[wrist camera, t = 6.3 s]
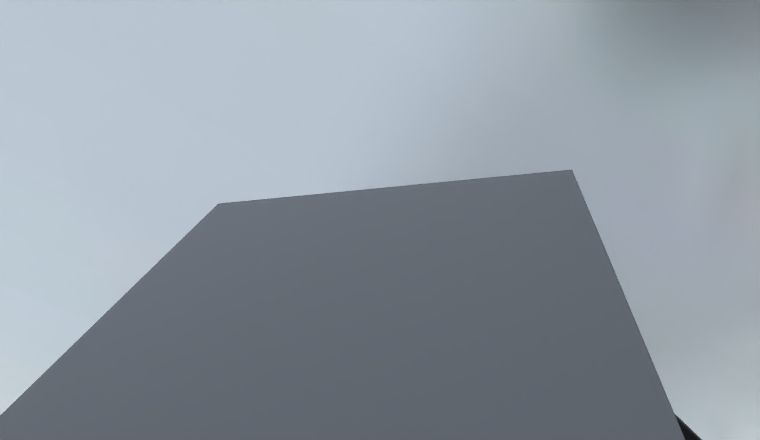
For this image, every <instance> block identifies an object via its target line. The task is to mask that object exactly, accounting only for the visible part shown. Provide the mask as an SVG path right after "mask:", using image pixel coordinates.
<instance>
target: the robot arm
mask: <svg viewBox="0 0 760 440" xmlns="http://www.w3.org/2000/svg"><path fill="white" fill-rule="evenodd" d="M675 417H676V419H677V422H678V424H679V426H680V429H681V431H682V433H683V436H684V438H685V440H702V439H701V438H700V437H698V436H697V435H696V434H695V433H694V432H693V431H692V430H691V429H690V428H689V427H688V426H687V425H686V424H685V423H684V422H683V421H682V420H681V419H680V418H679V417H678V416H676V415H675Z"/></svg>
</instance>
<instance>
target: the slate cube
mask: <svg viewBox="0 0 760 440" xmlns="http://www.w3.org/2000/svg"><path fill="white" fill-rule="evenodd" d="M0 440H685V438H684V436H683V433H682V431H681V429H680V426H679V424H678V422H677V419H676V417H675V414H674V412H673V410H672V407H671V405H670V402H669V400H668V398H667V395H666V393H665V391H664V388H663V386H662V383H661V381H660V379H659V376H658V374H657V371H656V369H655V367H654V364H653V362H652V360H651V357H650V355H649V352H648V350H647V348H646V345H645V343H644V340H643V338H642V336H641V333H640V331H639V329H638V326H637V324H636V321H635V319H634V317H633V314H632V312H631V310H630V307H629V305H628V302H627V300H626V298H625V295H624V293H623V290H622V288H621V286H620V283H619V281H618V279H617V276H616V274H615V271H614V269H613V267H612V264H611V262H610V259H609V257H608V255H607V252H606V250H605V248H604V245H603V243H602V240H601V238H600V236H599V233H598V231H597V228H596V226H595V224H594V221H593V219H592V217H591V214H590V212H589V209H588V207H587V205H586V202H585V200H584V197H583V195H582V193H581V190H580V188H579V186H578V183H577V181H576V178H575V176H574V174H573V171H572V170H564V171H554V172H543V173H533V174H523V175H512V176H502V177H491V178H481V179H470V180H460V181H450V182H439V183H429V184H418V185H408V186H398V187H387V188H377V189H366V190H356V191H345V192H335V193H325V194H314V195H304V196H293V197H283V198H273V199H262V200H252V201H241V202H231V203H221V204H218V205H217V206H216V207H214V208H213V209H212V210H211V211H210V212H209V213H208V214H207V215H206V216H205V217H204V218H203V219H202V220H201V221H200V222H199V223H198V224H197V225H196V226H195V227H194V228H193V229H192V230H191V231H190V232H189V233H188V234H187V235H186V236H185V237H184V238H183V239H182V240H181V241H179V242H178V243H177V244H176V245H175V246H174V247H173V248H172V249H171V250H170V251H169V252H168V253H167V254H166V255H165V256H164V257H163V258H162V259H161V260H160V261H159V262H158V263H157V264H156V265H155V266H154V267H153V268H152V269H151V270H150V271H149V272H148V273H147V274H146V275H145V276H143V277H142V278H141V279H140V280H139V281H138V282H137V283H136V284H135V285H134V286H133V287H132V288H131V289H130V290H129V291H128V292H127V293H126V294H125V295H124V296H123V297H122V298H121V299H120V300H119V301H118V302H117V303H116V304H115V305H114V306H113V307H112V308H111V309H110V310H108V311H107V312H106V313H105V314H104V315H103V316H102V317H101V318H100V319H99V320H98V321H97V322H96V323H95V324H94V325H93V326H92V327H91V328H90V329H89V330H88V331H87V332H86V333H85V334H84V335H83V336H82V337H81V338H80V339H79V340H78V341H77V342H76V343H75V344H74V345H72V346H71V347H70V348H69V349H68V350H67V351H66V352H65V353H64V354H63V355H62V356H61V357H60V358H59V359H58V360H57V361H56V362H55V363H54V364H53V365H52V366H51V367H50V368H49V369H48V370H47V371H46V372H45V373H44V374H43V375H42V376H41V377H40V378H39V379H37V380H36V381H35V382H34V383H33V384H32V385H31V386H30V387H29V388H28V389H27V390H26V391H25V392H24V393H23V394H22V395H21V396H20V397H19V398H18V399H17V400H16V401H15V402H14V403H13V404H12V405H11V406H10V407H9V408H8V409H7V410H6V411H5V412H4V413H3V414H1V415H0Z"/></svg>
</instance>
